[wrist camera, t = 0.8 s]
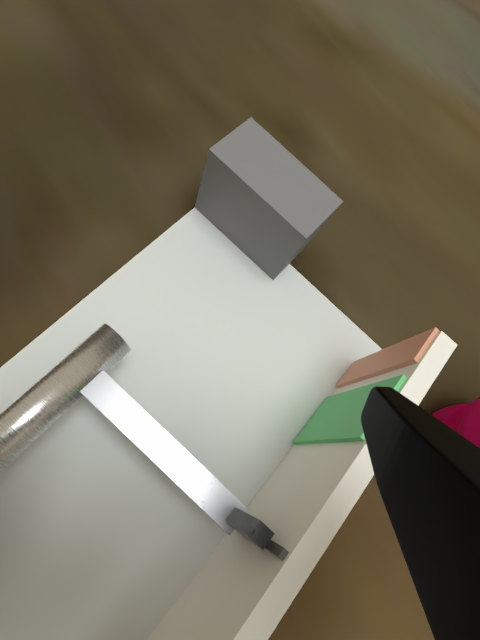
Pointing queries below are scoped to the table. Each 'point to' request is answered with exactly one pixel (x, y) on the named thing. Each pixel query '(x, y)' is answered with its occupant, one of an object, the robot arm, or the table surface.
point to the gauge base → (200, 423)
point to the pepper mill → (462, 419)
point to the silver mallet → (120, 428)
